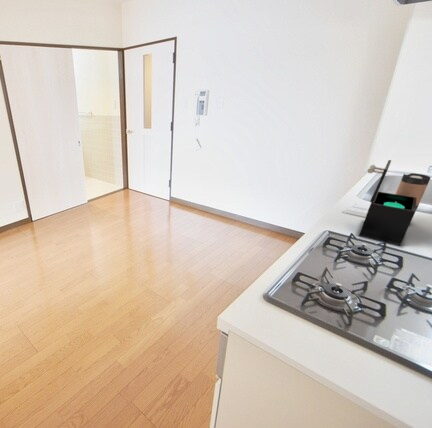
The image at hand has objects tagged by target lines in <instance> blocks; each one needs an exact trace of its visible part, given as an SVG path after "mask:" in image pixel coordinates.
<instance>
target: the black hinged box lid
mask: <svg viewBox="0 0 432 428" xmlns="http://www.w3.org/2000/svg"><path fill="white" fill-rule="evenodd" d="M391 163H392V160H391V159H388V160H387V163H386V165H385V167H378V166H376V165H374V164H372V165H369V167H368V169H367V171H366V172H367V174H373V173H376V174H381V176H380V177H379V180H378V183H377V185H376V186H375V189H374V192H373V194H372V196H371V199H370V203H371V202H373V201H374V199H375V197H376V194H377V192H378V191H379V190H380V188H381V186H382V184H383V181H384V179H385V178H386V175H387V172H388V171H389V168H390V166H391Z"/></svg>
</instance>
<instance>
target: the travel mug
mask: <svg viewBox="0 0 432 428" xmlns="http://www.w3.org/2000/svg"><path fill="white" fill-rule="evenodd" d="M430 181H431V176H430V175H425V174H421V173H416V172H415V173H414V172H413V173H409V174H405V173H403V175H402V177H401V180H400V181H399V185H398V186H397V189H396V191H395V194H397V195H403V196H410V197H416V198H417V200H416V210H417V209H418V207H419V206H420V203H421V202H422V199H423V196H424V194H425V192H426V190H427V188H428V185H429V183H430Z"/></svg>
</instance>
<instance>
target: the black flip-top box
mask: <svg viewBox="0 0 432 428" xmlns="http://www.w3.org/2000/svg"><path fill="white" fill-rule="evenodd" d="M416 200H417V198H416V197H410V196H403V195H397V194H396V193H391V192H384V191H379V190H378V192H377V194H376V197H375V199H374V201H373V202H370V204H369V208H368V210H367V213H366V215H365V218H364V221H363V224H362V226H361V228H360V231H359V234H358V236H359V237H360V238H361V237H362V238H365V239H368V240H369V239H370V240H374V241H377V242H378V241H379V242H382V243H385V242H386V244H390V245H393V246H398V247H400V246H401V245H402V243H403V240H404V239H405V236H406V234H407V231H408V229H409V227H410V225H411V222H412V221H413V218H414V217H415V214H416V211H417V209H416ZM386 202H393V203H395V202H396V203H399V204H401V205H403V206H404V207H405V209H402V208H397V207H391V206H386V205H384V203H386Z"/></svg>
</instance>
